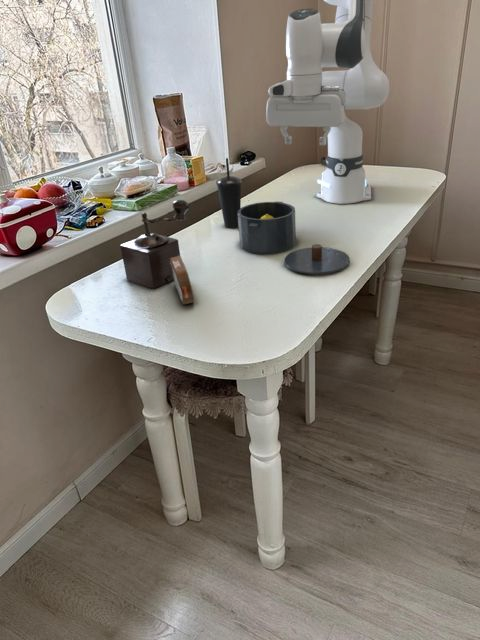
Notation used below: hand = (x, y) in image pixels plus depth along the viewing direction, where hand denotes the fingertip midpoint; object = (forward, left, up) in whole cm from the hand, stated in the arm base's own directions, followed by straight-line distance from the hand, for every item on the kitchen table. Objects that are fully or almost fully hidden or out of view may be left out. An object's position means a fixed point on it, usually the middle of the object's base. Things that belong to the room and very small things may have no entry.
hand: (305, 144), depth 141 cm
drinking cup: (-4, -25, -25) cm, 36 cm away
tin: (+44, -17, -25) cm, 54 cm away
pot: (+8, -9, -25) cm, 28 cm away
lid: (+18, +8, -25) cm, 32 cm away
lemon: (+8, -9, -25) cm, 28 cm away
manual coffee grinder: (+34, -28, -25) cm, 51 cm away
